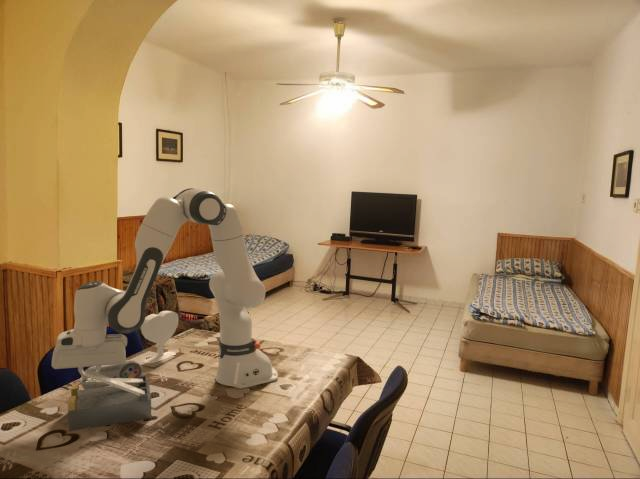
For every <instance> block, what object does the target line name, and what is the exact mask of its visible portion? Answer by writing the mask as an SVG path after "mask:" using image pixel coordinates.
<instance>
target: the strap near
mask: <svg viewBox="0 0 640 479" xmlns="http://www.w3.org/2000/svg"><path fill="white" fill-rule="evenodd" d="M85 370H86V371H85ZM85 370H84V371H85V376H88V377H90V378H93V379H96V380H98V381H101V382H104V383H106V384H109V385H110V386H114V387H117V388H120V389H122V390H125V391H128V392H130V393H133V394H136V395H138V396H140V394H145V391H144V390H141V389H139V388H136V387H133V386H131V385H128V384H126V383H123V382H120V381H118V380H115V379H112V378H110V377H107V376H105V375H102V374H99V373H97V372H94V371H91V370H89V369H88V368H86V369H85Z"/></svg>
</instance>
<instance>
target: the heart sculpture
mask: <svg viewBox="0 0 640 479" xmlns="http://www.w3.org/2000/svg"><path fill="white" fill-rule="evenodd" d="M178 326H179V313H177V312H174V311H171V310H162V311H160V312H159V313H158V314H157V313H156V314H155V313H151V314H149V315H147V316H145V320H144V322H143V324H142V325H141V327H140V331H141V334H142V336H143V337H144V339H146V340H147V341H149V342H152V343H155V344H157V345H156V349H157V351H156V352H157V355H155V356H152V357H149V358H146V359H144V362H145V363H147V364H154V363H157V362H159V361H162V360H164V359H167V358H170V357H173V356H175V355H177V353H176V352H175V351H164V349H165V348H164V346H165V345H166V344H167V342H168V341H169V340H170V339H171V338H172V336H173V335H174V334H175V332H176V331H177V328H178Z"/></svg>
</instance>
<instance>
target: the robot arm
mask: <svg viewBox="0 0 640 479" xmlns="http://www.w3.org/2000/svg"><path fill="white" fill-rule="evenodd" d="M187 222H192V223H197V224H200V225H206V226H208V229H209V231H210V232H209V233H210V237H211V238H210V239H211V244H212V249H213V256H214V259H215V262H216V263H217V265H218V266H219V267H220V269H219V270H217V271H215V272H213V274H211V276H210V279H209V283H208V287H209V290H210V291H211V293H212V294H213V296H214V299H215V303H216V307H217V311H218V315H219V316H218V317H219V322H220V323H219V326H220V338H219V341H218V357H219V358H218V359H219V360H218V365H217V366H218V367H217V371H216V375H215V381H216V382H217V383H218V384H220V385H223V386H228V387H229V386H230V387H233V388H236V389H245V388H250V387H254V386H257V385H261V384H266V383H267V384H268V383H270V382H276V381H277V380H278V378H279V374H278V371H277V370H276V368H274V367H273V366H272V363H271V362H272V361H271V359H270V358H269V357H268V355H267V354H265V353H264V352H263V351H261V350H259V349H260V348H261V344H260V343H259V342H257V340H256V339H254V338H253V337H252V332H253V331H252V324H253V321H252V318H251V315H250V314H249V312H248V310H247V308H253V309H254V308H256V307H259V306H260V305H261V304H262V303H263V302H264V299H265V297H266V287H265V284H264V283H263V282H262V281H261V280H260V278H259V277H258V275H257V273H256V271H255V269H254V267H253V265H252V262H251V260H250V257H249V254H248V251H247V250H248V249H247V246H246V245H247V244H246V241H245V240H246V239H245V235H244V229H243V224H242V220H241V217H240V215H239V212H238V209H237V208H236V206H234V205H232V204H230V203H223V202H222V199H221V198H220V197H219V196H218V195H217V194H215V193H214V192H212V191H209V190H205V189H202V188H191V187H190V188H185V189H183V190H182V191H180V192H178V194H176V195H175V196H173V197H170V196H169V197H168V196H161V197H159V198H157V199H156V200H155V201H154V202H153V204H152V206H151V207H150V208H149V210H148V212H147V213H146V214H145V216H144V218H143V220H142V222H141V223H140V226H139V228H138V230H137V234H136V236H135V241H134V248H135V254H136V264H135V269H134V271H133V274H132V275H131V279H130V281H129V283H128V286H127V288H126V290H122V289H118V288H115V287H112V286H110V285H108V284H106V283H105V282H103V281H89V282H85V283H84V284H81V285H80V286H78V288H77V289H76V291H75V294H74V295H75V296H74V300H73V301H74V303H73V314H74V318H75V320H74V321H75V322H74V325H73V328H72V329H70V330H67V331H66V330H65V331H63V332H60V333H59V334H58V336H56V337H57V338H56V345H55V347H54V349H53V352H52V357H51V367H52V368H53V369H54V370H60V369H61V370H62V369H75V368H76V369H77V371H78V373H79V374H80V376H82V381H84V380H87V379H88V376H85V372H84V371H85V370H84V368H86V367H87V368H90V367H93V366H96V369H97V370H96V371H95V372H97V373H99V371H100V370H101V366H102V365H116V364H123V363H124V362H125V361H126V360H127V358H126V347H127V345H128V337H127V336H126V335H125V334H131V333H133V332H135V331H137V330H139V328H140V329H141V325H142V324H143V322H144V320H145V317H146V315H147V314H146V308H147V301H148V297H149V296H150V293H151V290H152V289H153V285H154V283H155V281H156V279H157V276H158V273H159V271H160V268H161V266H162V264H163V263H164V261H165V258H166V256H167V255H168V252H170V249H171V247H172V245H173V244H174V242H175V239H176V237H177V235H178V232H179V230H180V229H181V227H182V226H183V225H184V224H185V223H187ZM107 323H108V325H109V326H110V328H111V329H112V330H113V331H115V332H117V334H116V333H115V334H114V333H113V334H110V333H109V334H107ZM92 380H96V379H93V378H92Z"/></svg>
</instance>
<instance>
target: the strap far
mask: <svg viewBox="0 0 640 479" xmlns="http://www.w3.org/2000/svg"><path fill="white" fill-rule="evenodd" d="M112 379H115V380H118V381H120V382H123V383H126V384H128V385H139V382H143V381H144V380H143V379H135V378H112ZM78 383H79V385H82V384H97V385H109V384H106V383H104V382H101V381H98V380H92V378H88V379H87V380H84V381H82V378H81V377H80V380H79V382H78Z"/></svg>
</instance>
